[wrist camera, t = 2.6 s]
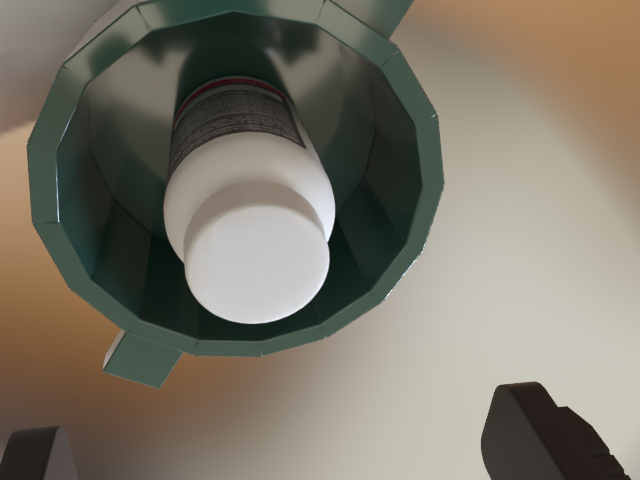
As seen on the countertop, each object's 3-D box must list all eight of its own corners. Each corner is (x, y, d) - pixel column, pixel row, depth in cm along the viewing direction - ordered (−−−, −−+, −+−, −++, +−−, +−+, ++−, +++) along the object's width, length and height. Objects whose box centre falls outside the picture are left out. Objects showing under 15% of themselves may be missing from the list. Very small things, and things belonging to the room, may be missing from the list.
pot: (-4, 243, 24) (-60, 340, 19) (197, -209, 18) (197, -250, 13) (262, 340, 30) (276, 437, 25) (490, 21, 23) (576, 59, 18)
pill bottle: (143, 137, 23) (112, 274, 15) (237, 42, 22) (261, 134, 14) (239, 217, 26) (258, 372, 17) (328, 137, 24) (394, 262, 16)
